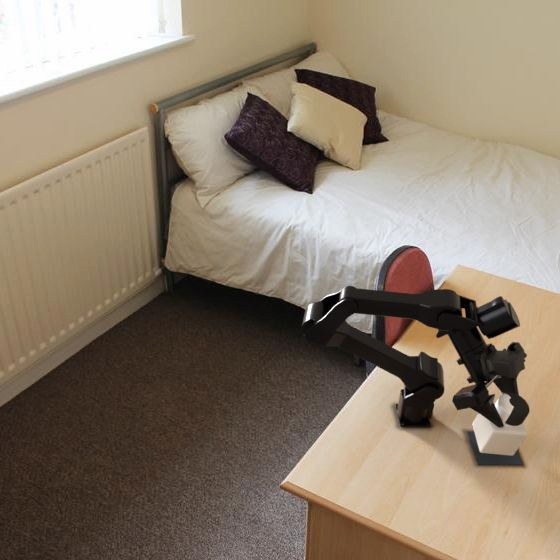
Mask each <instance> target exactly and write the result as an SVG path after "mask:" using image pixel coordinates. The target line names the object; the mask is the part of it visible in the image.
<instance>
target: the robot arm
mask: <svg viewBox="0 0 560 560" xmlns="http://www.w3.org/2000/svg"><path fill="white" fill-rule="evenodd" d="M463 310H464V313H465V314H464V315H465V316H463ZM355 314H356V315H357V314H358V315H366V316H367V315H368V316H376V317H389V318H397V319H398V318H399V319H408V320H414V321H417V322H418V323H421V324H422V325H424V326H425V327H427V328H432V329H436V330H437V333H436V335H435V337H436V339H441V338H442V337H444V336H447V337H448V339H449V340H450V342H451V344H452V346H453V348H454V350H455V351H456V353H457V355H458V357H459V358H458V359H457V360H456V363H457V364H458V366H461V365H463V366H464V368H465V369H466V372H467V373H468V375H469V376H468V377H467V378H466V381H467V382H468V384H471V385H468V386H464V387H463V386H462V387H461V388H460V389H459V390H458V391H457V392H456V393H455V394H454V395H453V396H452V400H451V401H452V403H453V405H454V407H455V409H456V411H462V410H466V409H471V410H473V411H474V412H475V413H477V414H478V413H479V414H481V415H482V416H484V417H485V418H486V419H488V420H489V421H490V422H492V423H493V424H495V425H496V426H497V427H499V428H501V427H503V426H504V424H503V422H502V419H501V417H500V415H499V413H498V411H497V409H496V407H495V405H494V404H495V398H496V394H495V393H493V394H490V392H489V390H488V387H489V386H490V385H491V384H492V383H493V384H494V385H495V386H496V388H498V390H499V391H500V392H501V394H504V393H515V394H517V395H519V396H520V393H519V386H518V376H519V374H520V373H521V372H522V371H524V370H526V365H525V362H526V358H527V357H528V354H527V353H526V352H525V349H524V348H523V346H522V345H521V344H520V342H519V341H512V342H511V343H510V344H509V345H508V346H507V348H503V349H502V350H498V349H497V348H496V346H495V345H494V344H493V343H492V342H491V343H487V342H486V340H485V338H484V336H485V337H486V338H487V339H488V340H491V339H494V338H497V337H498V336H499V337H500V336H501V335H503V334H505V333H508V332H510V331H513V330H515V329H517V328H520V327H521V323H520V322H521V321H520V319H519V316H518V314H517V312H516V310H515V308H514V306H513V305H512V303H511V302H510V301H508V300H507V299H504V297H503V296H502V295H499V296H497V297H496V298H494V299H492V300H491V301H489V302H486V303H484V304H482V305H480V306H478V305H477V300H475V299H472V298H469V297H466V296H463V295H460V294H458V293H457V292H456V291H455V290H453V289H449V288H441V289H429V290H426V291H423V292H420V293H408V292H400V291H399V292H397V291H387V290H378V289H367V288H358V287H355V286H353V285H347V286H344V287H343V288H341V289H339V290H338V291H336V292H333V293H329V294H327V295H325V296H324V297H322V298H320V300H318V301H313V302H311V303H309V304H308V305H307V306H306V307H305V309H304V314H303V319H302V323H301V335H302V337H303V338H304V339H305V340H306V341H308V342H309V343H312V344H315V345H318V346H321V347H324V348H334V347H335V348H337V347H338V348H340V349H342V350H344V351H346V352H348V353H350V354H351V355H354V356H356V357H358V358H360V359H361V360H364V361H365V362H367V363H369V364H372V365H374V367H377V368H379V369H381V370H383V371H385V372H387V373H388V374H391V375H392V376H394V377H397V378H398V379H399V380H400V381H401V382H402V384H403V388H402V389H400V392H399V397H398V403H396V404H395V406H394V407H395V412H396V415H397V421H398V424H399V426H400V427H401V428H430V427H431V425H432V424H431V421H430V420H431V419H432V418H433V412H434V408H435V402H436V400H438V399H440V398H442V396H444V393H445V375H444V373H445V372H444V368H443V364H442V363H440V362H439V358H437V357H433V356H430V355H429V354H428V353H426V352H425V351H420V352H419V354H418V355H407V353H404V352H402V351H400V350H398V349H396V348H394V347H392V346H391V345H389V344H387V343H385V342H383V341H381V340H379V339H377V338H375V337H373V336H371V335H369V334H367V333H366V332H364V331H362V330H360V329H358V328H356V327H354V326H352V325H351V324H349V323H348V322H347V321H346V320H347V319H348V318H350V317H351V316H353V315H355ZM473 383H474V384H473Z"/></svg>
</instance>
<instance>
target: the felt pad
mask: <svg viewBox="0 0 560 560" xmlns="http://www.w3.org/2000/svg"><path fill="white" fill-rule="evenodd" d="M466 435H467V437H468V441H469V444H470V446H471V449H472V453H473V455H474V458H475V460H476V463H477V466H523V465H524V464H523V462H522V459H521V456H520V455H519V452H518V450H517V451H516V452H515V454H514V455H513V456H510V455H500V454H489V453H481V452H480V451H479V447H478V444H477V440H476V436H475V433H474V431H466Z"/></svg>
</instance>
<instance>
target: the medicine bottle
mask: <svg viewBox="0 0 560 560" xmlns="http://www.w3.org/2000/svg"><path fill="white" fill-rule="evenodd" d="M494 405H495V407H496V409H497V411H498V413H499V415H500V417H501V419H502V422H503V424H504V426H503V427H501V428H499V427H497V426H496V425H495V424H493V423H492V422H490V421H489V420H488V419H486V418H485V417H484V416H482V415H481V414H479V413H478V412H477V415H476V417H475V419H474V420H473V422H472V428H473V432H474V433H475V436H476V440H477V444H478V447H479V451H480V452H481V453H489V454H500V455H510V456H513V455H514V454H515V452H516V451H517V452H518V449H519V448H520V446H521V445H522V444H523V442H524V441H525V439H526V437H527V436H528V433H527V430H526V427H525V424H524V422H525V421H526V419H527V417H528V415H529V414H530V406H529V404H528V402H527V401H526V399H524V397H522V396H521V395H520V394H519V395H517V394H515V393H504V394H503V393H501V395H500V396H499V397H498V398H497V400H496V402H495V403H494Z"/></svg>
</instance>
